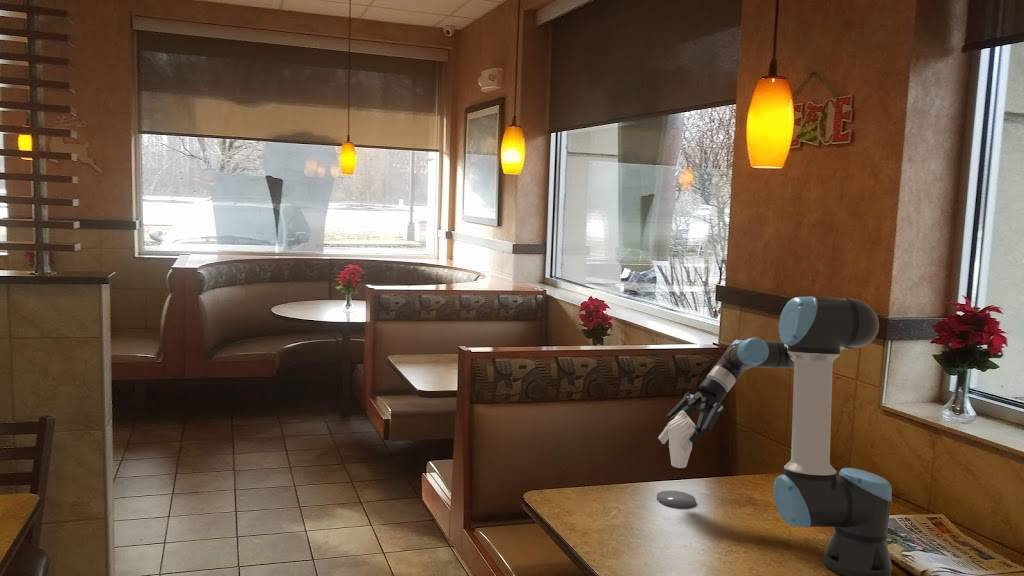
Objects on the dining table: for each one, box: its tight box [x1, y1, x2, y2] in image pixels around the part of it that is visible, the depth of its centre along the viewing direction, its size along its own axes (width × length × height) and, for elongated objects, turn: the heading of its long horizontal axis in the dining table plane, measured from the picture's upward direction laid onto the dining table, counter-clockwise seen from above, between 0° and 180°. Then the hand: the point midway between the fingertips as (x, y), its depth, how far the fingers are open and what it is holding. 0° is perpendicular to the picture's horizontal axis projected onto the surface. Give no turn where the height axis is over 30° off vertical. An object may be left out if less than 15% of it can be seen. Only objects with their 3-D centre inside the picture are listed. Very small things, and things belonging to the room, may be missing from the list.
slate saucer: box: [656, 490, 697, 509], centre depth 233 cm, size 11×11×1 cm
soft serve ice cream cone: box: [667, 411, 697, 469], centre depth 231 cm, size 8×8×16 cm
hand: (671, 445), depth 229 cm, fingers closed on soft serve ice cream cone, 8 cm apart
